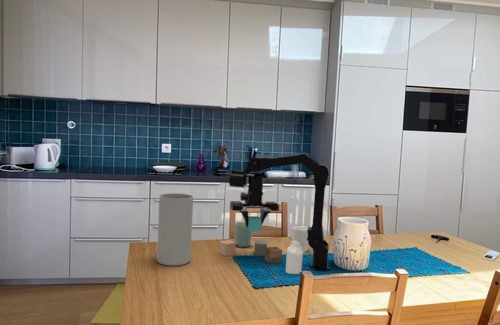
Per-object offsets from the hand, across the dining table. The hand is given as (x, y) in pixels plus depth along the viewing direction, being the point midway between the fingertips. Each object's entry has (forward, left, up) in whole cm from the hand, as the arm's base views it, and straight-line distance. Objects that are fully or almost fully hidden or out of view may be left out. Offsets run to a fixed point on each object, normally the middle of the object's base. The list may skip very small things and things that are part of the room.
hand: (253, 227), depth 158 cm
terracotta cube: (+7, +9, -13) cm, 17 cm away
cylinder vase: (-1, +31, -13) cm, 33 cm away
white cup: (+10, -24, -13) cm, 29 cm away
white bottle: (-16, -12, -13) cm, 24 cm away
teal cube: (0, 0, -1) cm, 1 cm away
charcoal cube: (+6, -5, -13) cm, 15 cm away
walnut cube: (-3, -8, -13) cm, 16 cm away
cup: (+18, 0, -13) cm, 23 cm away
